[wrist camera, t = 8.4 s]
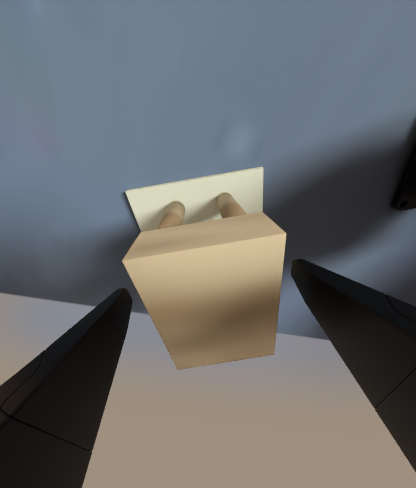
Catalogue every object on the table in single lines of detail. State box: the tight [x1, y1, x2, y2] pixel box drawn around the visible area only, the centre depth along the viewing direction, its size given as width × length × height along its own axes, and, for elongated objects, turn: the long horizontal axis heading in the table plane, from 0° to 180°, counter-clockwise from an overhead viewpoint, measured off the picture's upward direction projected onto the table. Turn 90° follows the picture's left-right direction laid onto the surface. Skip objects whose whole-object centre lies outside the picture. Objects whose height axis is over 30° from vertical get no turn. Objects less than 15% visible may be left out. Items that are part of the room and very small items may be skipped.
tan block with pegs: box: [122, 192, 286, 370], centre depth 10 cm, size 7×5×7 cm
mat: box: [125, 167, 263, 232], centre depth 13 cm, size 9×9×1 cm
